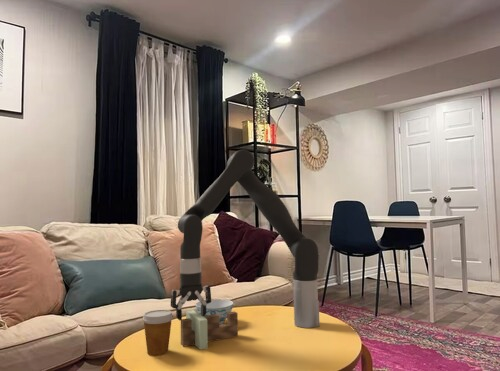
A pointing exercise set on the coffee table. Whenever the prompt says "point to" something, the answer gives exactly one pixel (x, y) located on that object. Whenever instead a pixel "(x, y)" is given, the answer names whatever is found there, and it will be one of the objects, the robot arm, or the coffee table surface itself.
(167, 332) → the disposable coffee cup
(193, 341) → the rail
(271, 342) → the coffee table surface
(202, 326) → the cross piece
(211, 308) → the chinaware
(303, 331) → the coffee table surface
